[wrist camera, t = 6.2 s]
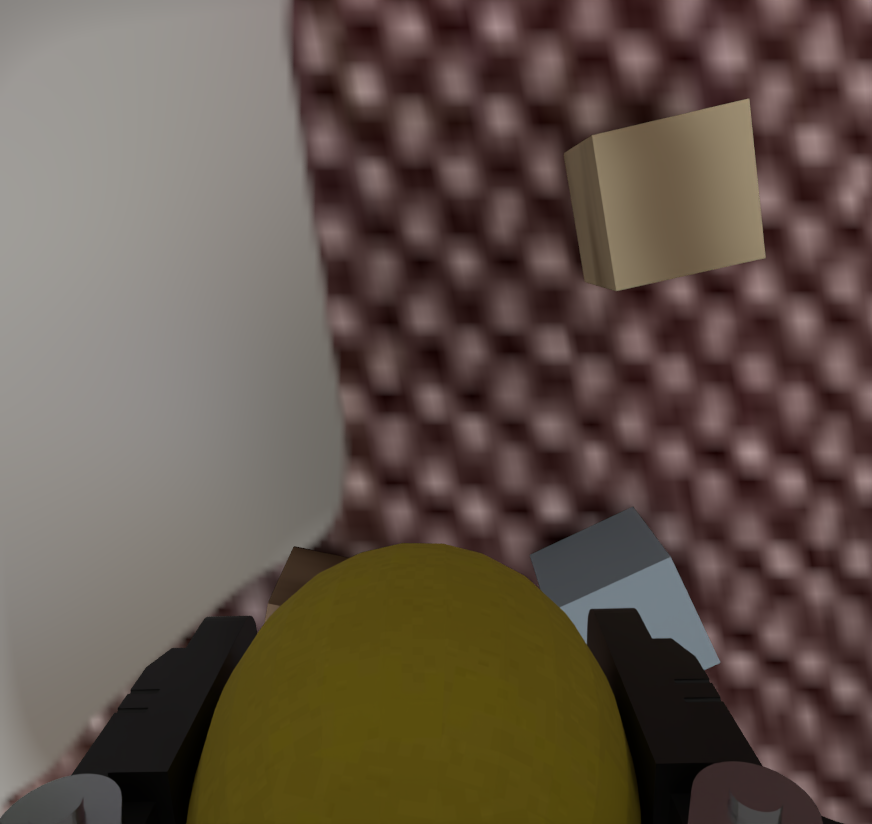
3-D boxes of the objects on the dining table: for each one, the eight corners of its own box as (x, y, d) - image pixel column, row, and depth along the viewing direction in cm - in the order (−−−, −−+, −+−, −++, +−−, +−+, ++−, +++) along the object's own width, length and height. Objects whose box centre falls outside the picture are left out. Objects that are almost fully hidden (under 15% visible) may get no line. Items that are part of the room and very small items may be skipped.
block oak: (691, 123, 27) (749, 98, 22) (707, 254, 28) (765, 257, 23) (563, 153, 27) (592, 135, 22) (584, 281, 28) (616, 290, 23)
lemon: (276, 728, 14) (58, 1367, 6) (282, 462, 12) (10, 835, 5) (554, 747, 14) (701, 1406, 6) (590, 484, 12) (836, 891, 5)
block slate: (632, 505, 30) (670, 556, 26) (676, 597, 31) (720, 662, 27) (529, 553, 31) (547, 613, 26) (575, 642, 32) (601, 714, 27)
